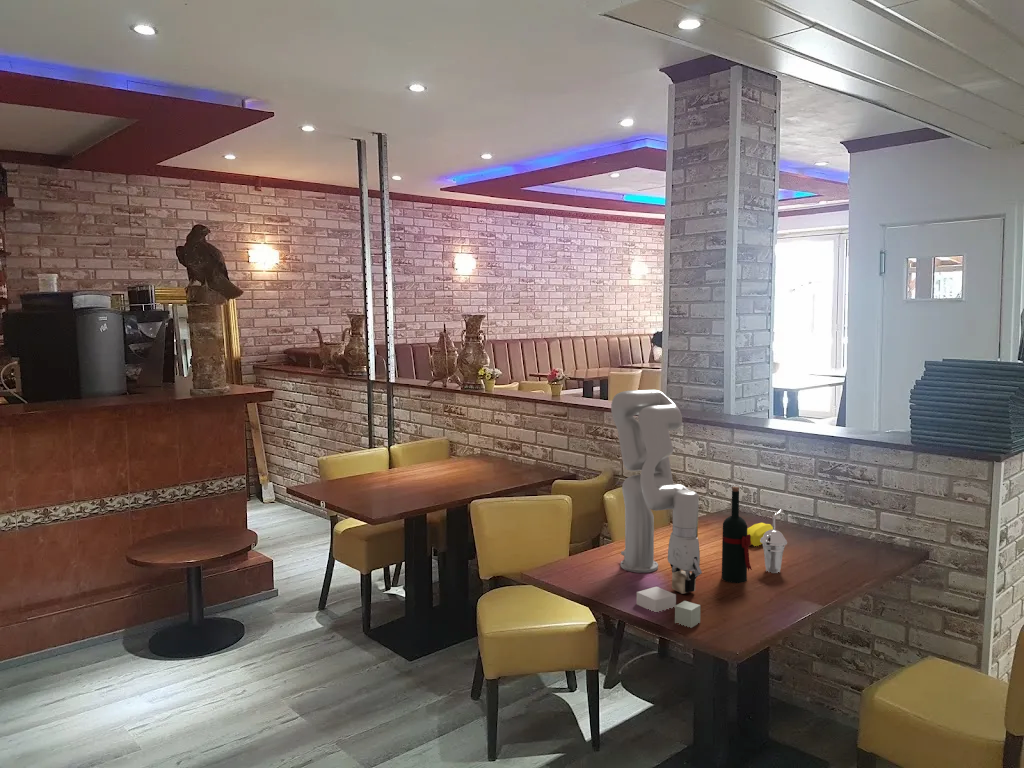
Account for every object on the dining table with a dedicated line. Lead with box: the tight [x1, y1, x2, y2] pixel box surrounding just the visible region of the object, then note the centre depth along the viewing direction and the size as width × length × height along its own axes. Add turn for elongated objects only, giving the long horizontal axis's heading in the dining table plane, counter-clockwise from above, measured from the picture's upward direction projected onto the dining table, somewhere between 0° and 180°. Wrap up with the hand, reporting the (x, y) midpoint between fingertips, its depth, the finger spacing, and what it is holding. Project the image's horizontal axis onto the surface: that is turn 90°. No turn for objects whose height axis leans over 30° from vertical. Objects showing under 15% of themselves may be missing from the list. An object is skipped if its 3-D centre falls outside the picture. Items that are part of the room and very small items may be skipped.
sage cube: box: [674, 600, 701, 629], centre depth 205 cm, size 5×5×5 cm
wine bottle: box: [721, 486, 753, 584], centre depth 237 cm, size 8×10×30 cm
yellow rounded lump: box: [747, 522, 773, 547], centre depth 278 cm, size 18×7×8 cm
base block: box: [636, 586, 677, 613], centre depth 218 cm, size 8×8×4 cm
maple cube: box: [671, 570, 697, 594], centre depth 228 cm, size 5×5×5 cm
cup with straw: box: [760, 508, 788, 574], centre depth 246 cm, size 8×9×20 cm
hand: (683, 587), depth 228 cm, fingers closed on maple cube, 4 cm apart
